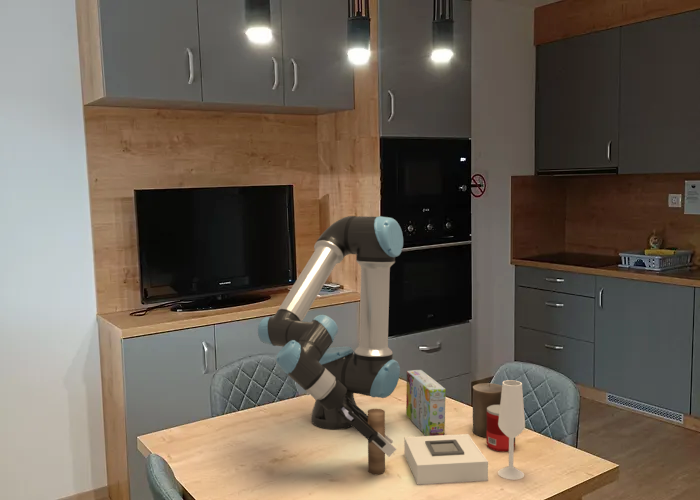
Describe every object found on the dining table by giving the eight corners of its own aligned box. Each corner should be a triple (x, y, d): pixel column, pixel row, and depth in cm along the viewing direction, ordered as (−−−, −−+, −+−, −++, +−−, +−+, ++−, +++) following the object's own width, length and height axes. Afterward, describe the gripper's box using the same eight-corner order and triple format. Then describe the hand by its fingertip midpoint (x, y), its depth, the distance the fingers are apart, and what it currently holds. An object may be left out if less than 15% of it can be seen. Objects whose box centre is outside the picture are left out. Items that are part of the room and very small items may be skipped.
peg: (367, 467, 173) (366, 408, 171) (383, 466, 173) (383, 408, 171) (369, 474, 168) (368, 414, 167) (386, 474, 169) (385, 414, 167)
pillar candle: (506, 439, 190) (507, 389, 189) (472, 437, 192) (472, 387, 191) (504, 427, 200) (505, 379, 198) (471, 425, 202) (472, 377, 200)
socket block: (404, 454, 181) (404, 435, 180) (468, 451, 182) (468, 431, 182) (417, 484, 163) (417, 463, 162) (487, 480, 164) (488, 459, 164)
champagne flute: (523, 469, 171) (525, 379, 168) (524, 480, 164) (526, 388, 162) (497, 467, 172) (498, 378, 170) (497, 478, 166) (498, 386, 163)
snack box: (446, 438, 192) (446, 388, 190) (428, 440, 190) (428, 390, 189) (421, 413, 212) (421, 368, 211) (404, 415, 211) (404, 369, 209)
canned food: (515, 453, 181) (516, 414, 179) (486, 451, 182) (486, 413, 181) (514, 442, 188) (515, 405, 187) (486, 440, 190) (486, 403, 189)
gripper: (315, 389, 176) (376, 445, 179) (318, 412, 159) (386, 473, 162) (334, 369, 176) (395, 425, 179) (339, 390, 159) (407, 452, 162)
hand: (390, 448), depth 171 cm, fingers closed on peg, 4 cm apart
